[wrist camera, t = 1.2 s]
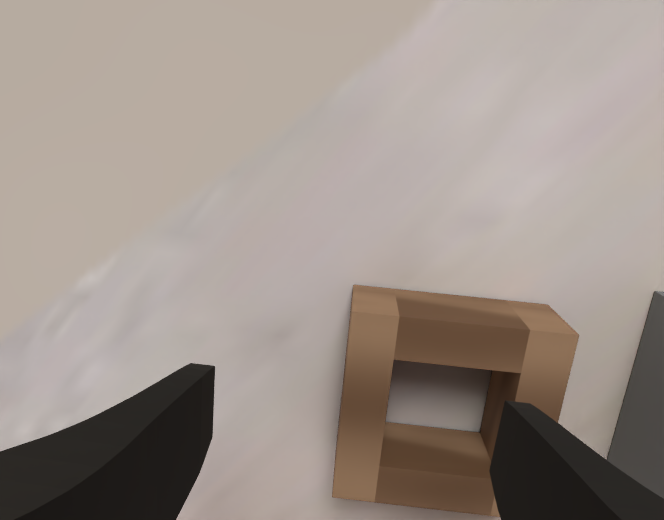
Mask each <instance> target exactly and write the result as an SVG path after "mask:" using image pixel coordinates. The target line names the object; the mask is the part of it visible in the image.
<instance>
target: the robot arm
mask: <svg viewBox="0 0 664 520" xmlns="http://www.w3.org/2000/svg"><path fill="white" fill-rule="evenodd" d="M214 379H215V366H210V365H202V364H193V363H190V364H188V365H186V366H184V367H183V368H181V369H179V370H177V371H176V372H174V373H172V374H170V375H169V376H167V377H165V378H164V379H162V380H160V381H159V382H157V383H155V384H153V385H152V386H150V387H148V388H147V389H145V390H143V391H141V392H140V393H138V394H136V395H134V396H133V397H131V398H129V399H127V400H125V401H123V402H121V403H119V404H117V405H115V406H113V407H111V408H109V409H107V410H105V411H104V412H102V413H100V414H98V415H96V416H93V417H91V418H89V419H87V420H85V421H82V422H80V423H78V424H76V425H73V426H71V427H68V428H66V429H63V430H61V431H58V432H56V433H53V434H51V435H48V436H46V437H43V438H40V439H37V440H34V441H31V442H28V443H25V444H22V445H19V446H16V447H13V448H10V449H7V450H4V451H1V452H0V520H176V518H177V517H178V515H179V513H180V511H181V509H182V507H183V505H184V503H185V501H186V499H187V497H188V495H189V493H190V491H191V489H192V487H193V485H194V483H195V481H196V479H197V477H198V475H199V473H200V470H201V468H202V465H203V462H204V459H205V457H206V454H207V451H208V448H209V445H210V442H211V439H212V433H213V406H214ZM489 472H490V477H491V482H492V487H493V491H494V496H495V500H496V504H497V508H498V512H499V515H500V517H501V520H664V498H662V497H660V496H659V495H657V494H655V493H654V492H652V491H651V490H649V489H648V488H646V487H644V486H643V485H641V484H640V483H639V482H637V481H636V480H634V479H633V478H631V477H630V476H628V475H627V474H625V473H624V472H623V471H621V470H620V469H618V468H617V467H615V466H614V465H613V464H611V463H610V462H608V461H607V460H606V459H604V458H603V457H602V456H600V455H599V454H598V453H596V452H595V451H594V450H592V449H591V448H590V447H588V446H587V445H586V444H584V443H583V442H582V441H580V440H579V439H578V438H576V437H575V436H574V435H573V434H571V433H570V432H569V431H567V430H566V429H565V428H564V427H562V426H561V425H560V424H558V423H557V422H556V421H554V420H553V419H552V418H550V417H549V416H548V415H547V414H545V413H544V412H542V411H541V410H540V409H538V408H537V407H535V406H534V405H532V404H530V403H523V402H515V401H506V400H505V402H504V407H503V411H502V416H501V420H500V425H499V429H498V434H497V438H496V442H495V447H494V451H493V456H492V460H491V465H490V469H489Z"/></svg>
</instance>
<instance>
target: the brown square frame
mask: <svg viewBox="0 0 664 520" xmlns="http://www.w3.org/2000/svg"><path fill="white" fill-rule="evenodd" d="M578 338H579V334H578V333H577V332H576V331H574V330H573V329H572V328H571V327H570V326H569V325H568V324H567V323H566V322H565V321H564V320H563V319H562V318H561V317H560V316H559V315H558V314H557V313H556V312H555V311H554V310H553V309H552V308H551V307H550V306H549V305H546V304H536V303H526V302H517V301H507V300H497V299H487V298H477V297H468V296H458V295H448V294H438V293H429V292H419V291H409V290H399V289H390V288H380V287H370V286H360V285H353V292H352V302H351V311H350V321H349V330H348V340H347V350H346V359H345V369H344V378H343V388H342V397H341V407H340V416H339V426H338V435H337V445H336V456H335V468H334V480H333V493H332V497H335V498H343V499H352V500H360V501H369V502H377V503H386V504H394V505H403V506H411V507H420V508H428V509H437V510H445V511H454V512H462V513H471V514H479V515H488V516H496V517H500V515H499V512H498V508H497V504H496V500H495V496H494V491H493V487H492V482H491V477H490V472H489V469H490V465H491V460H492V456H493V451H494V447H495V442H496V438H497V434H498V429H499V425H500V420H501V416H502V411H503V407H504V402H505V400H506V401H515V402H523V403H530V404H532V405H534V406H535V407H537V408H538V409H540V410H541V411H542V412H544V413H545V414H547V415H548V416H549V417H550V418H552V419H553V420H554V421H556V422H557V423H558V420H559V416H560V411H561V407H562V403H563V399H564V395H565V391H566V387H567V383H568V379H569V375H570V371H571V367H572V363H573V358H574V354H575V350H576V346H577V342H578ZM394 360H402V361H411V362H420V363H430V364H439V365H448V366H458V367H467V368H476V369H486V370H492V374H491V379H490V384H489V389H488V395H487V400H486V405H485V410H484V415H483V420H482V425H481V430H480V433H478V432H469V431H460V430H451V429H443V428H434V427H425V426H416V425H407V424H398V423H389V422H385V420H386V413H387V405H388V398H389V390H390V383H391V376H392V368H393V361H394Z"/></svg>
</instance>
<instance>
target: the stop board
mask: <svg viewBox="0 0 664 520" xmlns="http://www.w3.org/2000/svg"><path fill="white" fill-rule="evenodd" d="M607 461H608V462H610V463H611V464H613V465H614V466H615V467H617V468H618V469H620V470H621V471H623V472H624V473H625V474H627V475H628V476H630V477H631V478H633V479H634V480H636V481H637V482H639V483H640V484H641V485H643V486H644V487H646V488H648V489H649V490H651V491H652V492H654V493H655V494H657V495H659V496H660V497H662V498H664V292H658V291H655V292H654V296H653V299H652V303H651V306H650V310H649V313H648V317H647V320H646V324H645V327H644V331H643V334H642V338H641V341H640V345H639V349H638V352H637V356H636V359H635V363H634V366H633V370H632V373H631V377H630V380H629V384H628V387H627V391H626V394H625V398H624V401H623V405H622V408H621V412H620V416H619V419H618V423H617V426H616V430H615V433H614V437H613V440H612V444H611V447H610V451H609V454H608V458H607Z"/></svg>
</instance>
